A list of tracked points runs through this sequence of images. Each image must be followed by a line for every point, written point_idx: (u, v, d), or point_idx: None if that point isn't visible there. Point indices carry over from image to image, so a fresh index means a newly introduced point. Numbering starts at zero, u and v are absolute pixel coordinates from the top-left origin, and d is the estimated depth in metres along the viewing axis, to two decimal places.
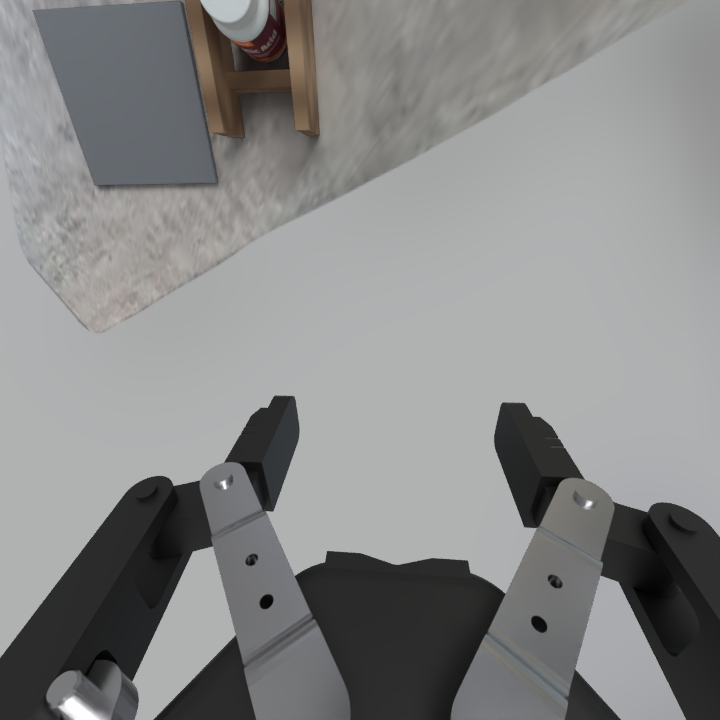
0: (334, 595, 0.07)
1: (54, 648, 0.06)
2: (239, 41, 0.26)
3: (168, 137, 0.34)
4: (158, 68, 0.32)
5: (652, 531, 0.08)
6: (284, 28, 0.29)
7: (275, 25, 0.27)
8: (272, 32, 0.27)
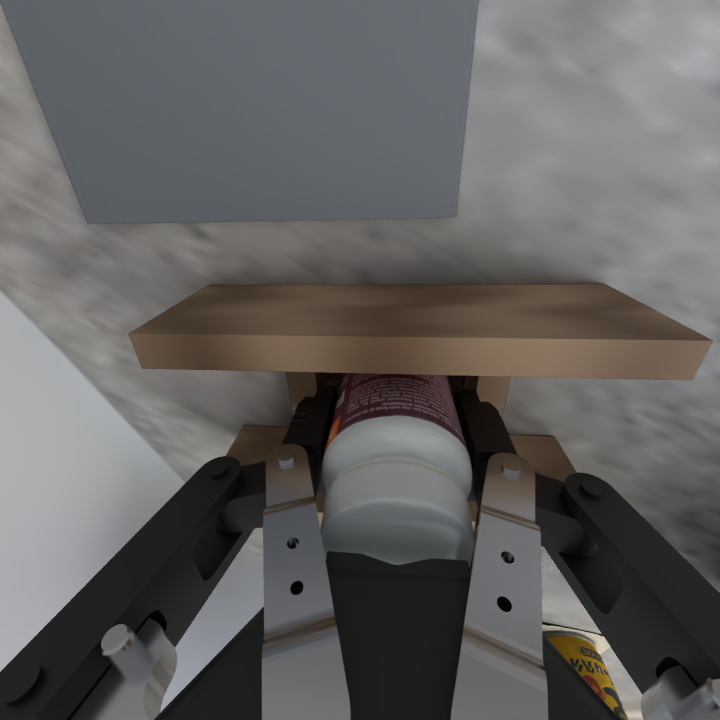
0: (334, 595, 0.07)
1: (118, 597, 0.07)
2: None
3: (155, 84, 0.11)
4: (324, 103, 0.11)
5: (570, 503, 0.09)
6: None
7: None
8: None
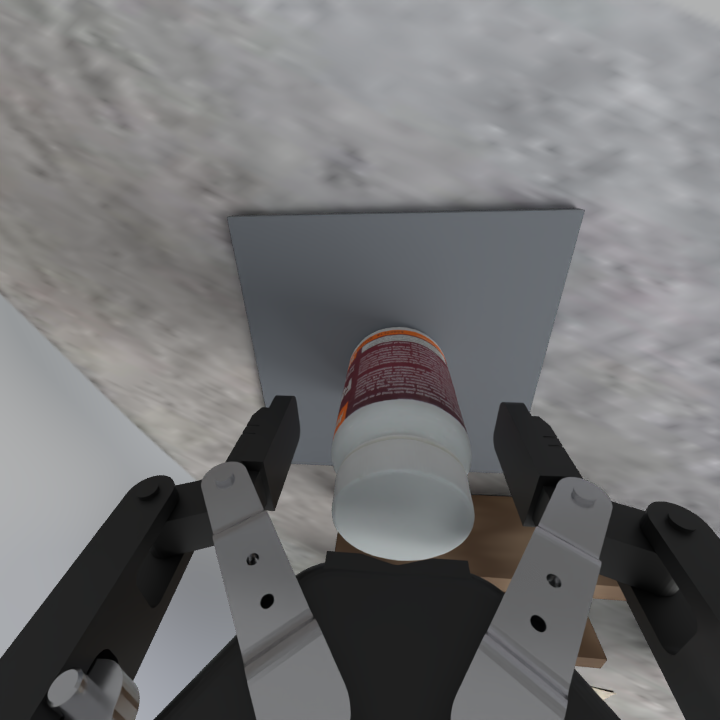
0: (334, 595, 0.07)
1: (56, 647, 0.06)
2: None
3: None
4: None
5: (650, 530, 0.08)
6: None
7: None
8: None
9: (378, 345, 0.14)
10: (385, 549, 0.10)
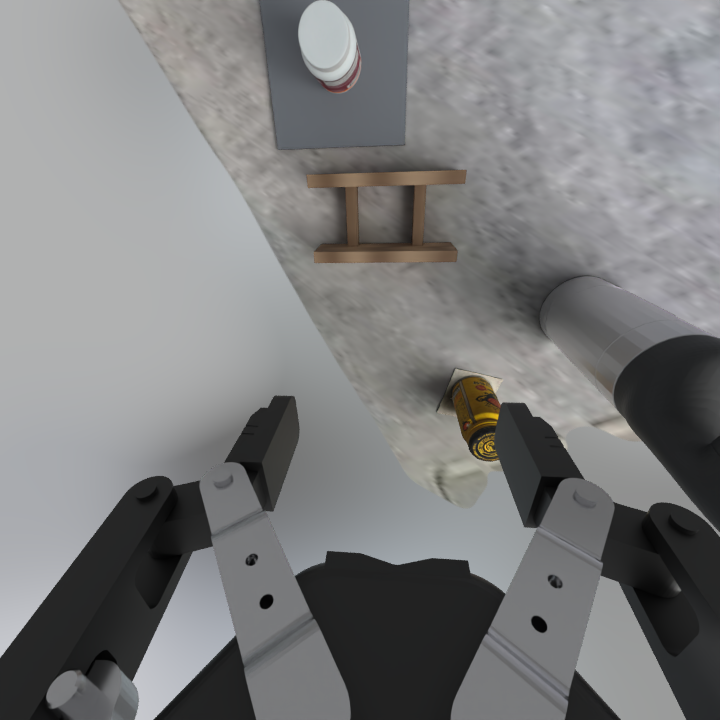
0: (334, 595, 0.07)
1: (54, 648, 0.06)
2: None
3: (311, 101, 0.35)
4: (363, 107, 0.35)
5: (652, 531, 0.08)
6: (332, 90, 0.33)
7: (323, 84, 0.31)
8: (318, 80, 0.31)
9: None
10: (319, 59, 0.27)
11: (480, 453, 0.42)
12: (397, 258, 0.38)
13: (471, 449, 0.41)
